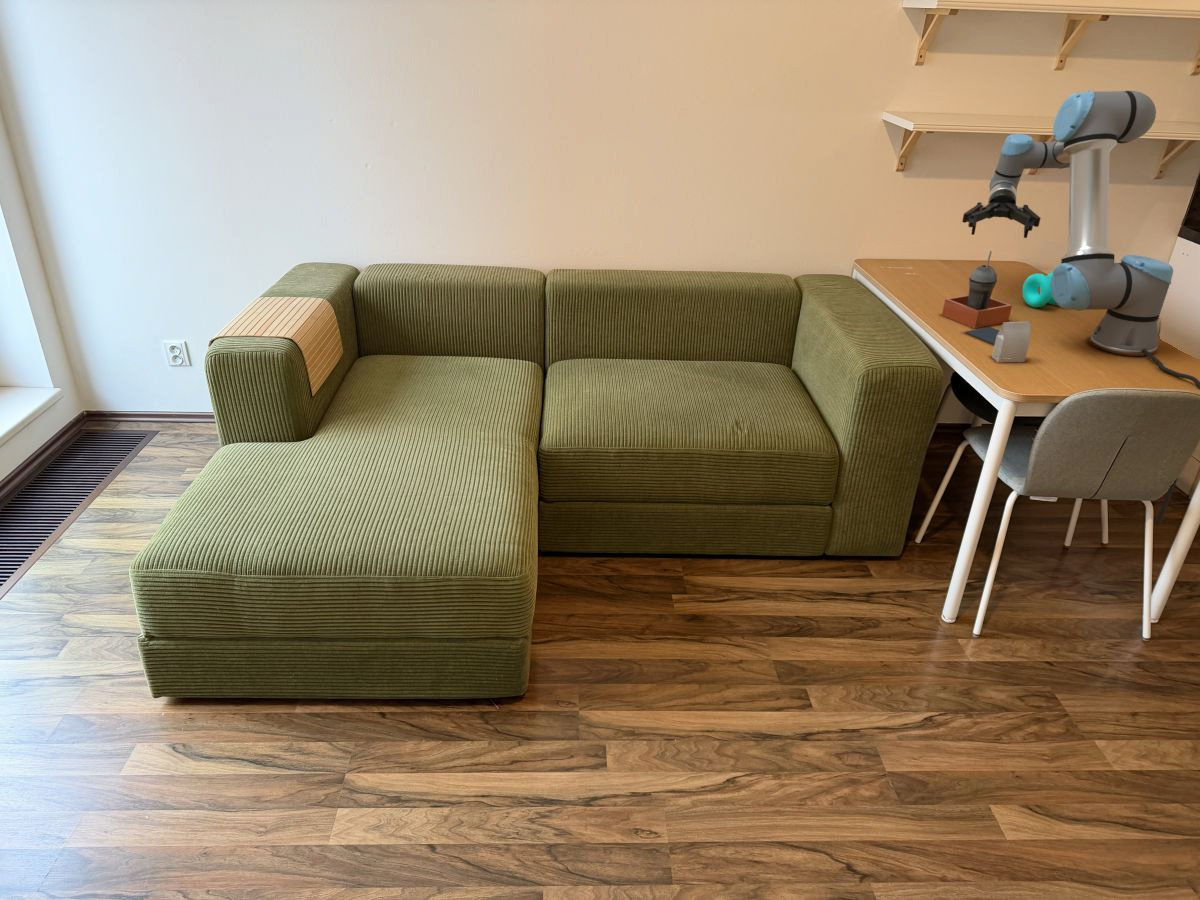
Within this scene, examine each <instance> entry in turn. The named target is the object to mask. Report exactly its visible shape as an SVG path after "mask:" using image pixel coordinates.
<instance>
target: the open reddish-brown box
mask: <svg viewBox="0 0 1200 900" xmlns="http://www.w3.org/2000/svg"><path fill="white" fill-rule="evenodd" d="M968 296H969V294H964V295H959V296H954V297H949V298H945V299H944V302H943V307H942V311H941V312H942V313H941V316H942V317H945V318H948V319H951V320H952V321H956V322H958V323H960V324H962V325H965V326H967V327H970V328H972V329H981V328H986V327H991V326H995V325H1000V324H1003V322H1009V320H1010V316H1011V312H1012V307H1013V305H1012V304H1010V303H1007V302H1005V301H1001V300H999V299H995V298H993V297H990V300H989V303H988V306H987V309H983V310H976V309H973V308H971V307H968V306H967V304H968Z"/></svg>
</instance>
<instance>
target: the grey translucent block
mask: <svg viewBox="0 0 1200 900" xmlns="http://www.w3.org/2000/svg"><path fill="white" fill-rule="evenodd" d="M1031 325H1032V322H1031V321H1008V322H1003V323H1001V327H1000V329H999V332H998V334H997V337H996V341H995V345H993V350H992V354H991V358H992V359H993V360H994V361H996V362H997V363H1025V362H1026V358H1027V354H1028V350H1029V346H1030V342H1031ZM995 355H996V356H997V357H996V356H995ZM999 358H1001V359H999ZM1003 358H1007V359H1003ZM1008 358H1011V359H1008Z"/></svg>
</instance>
